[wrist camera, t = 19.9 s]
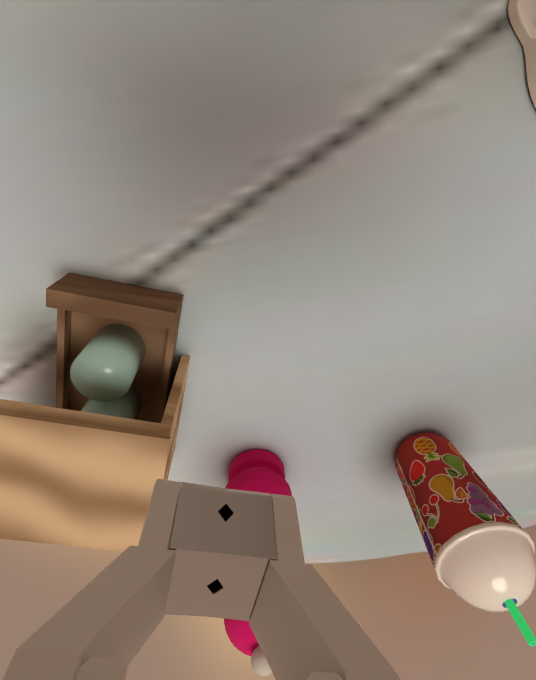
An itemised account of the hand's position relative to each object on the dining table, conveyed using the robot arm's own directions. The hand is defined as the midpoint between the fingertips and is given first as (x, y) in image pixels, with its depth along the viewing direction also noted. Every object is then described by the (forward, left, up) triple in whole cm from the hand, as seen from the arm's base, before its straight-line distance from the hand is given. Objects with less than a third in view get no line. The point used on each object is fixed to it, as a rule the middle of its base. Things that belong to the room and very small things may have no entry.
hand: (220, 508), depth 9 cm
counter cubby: (+18, -9, -29) cm, 35 cm away
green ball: (+12, -9, -28) cm, 32 cm away
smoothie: (+19, +25, -29) cm, 43 cm away
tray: (+14, -9, -29) cm, 34 cm away
